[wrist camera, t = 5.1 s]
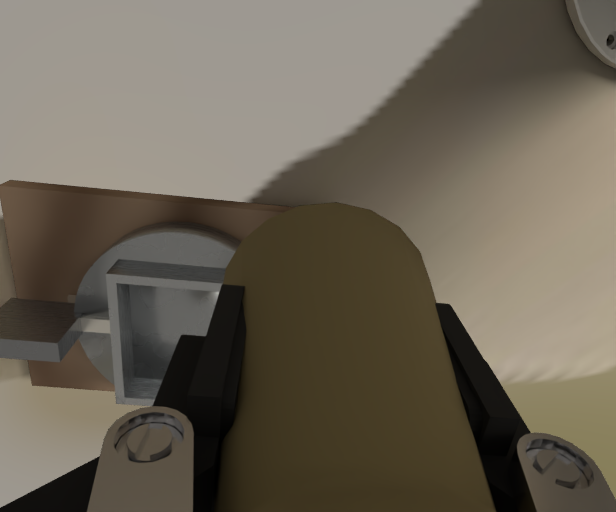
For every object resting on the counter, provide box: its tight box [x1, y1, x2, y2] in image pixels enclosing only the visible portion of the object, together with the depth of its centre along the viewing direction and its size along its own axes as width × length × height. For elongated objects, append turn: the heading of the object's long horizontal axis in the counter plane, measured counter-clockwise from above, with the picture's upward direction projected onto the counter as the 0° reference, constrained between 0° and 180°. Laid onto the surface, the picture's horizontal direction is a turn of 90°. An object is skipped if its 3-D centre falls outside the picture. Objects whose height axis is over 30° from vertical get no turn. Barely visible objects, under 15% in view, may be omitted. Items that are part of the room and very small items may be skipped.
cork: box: [214, 202, 496, 512], centre depth 8 cm, size 6×6×11 cm
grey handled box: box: [0, 222, 241, 406], centre depth 27 cm, size 16×12×5 cm
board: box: [0, 180, 296, 391], centre depth 30 cm, size 19×14×1 cm
